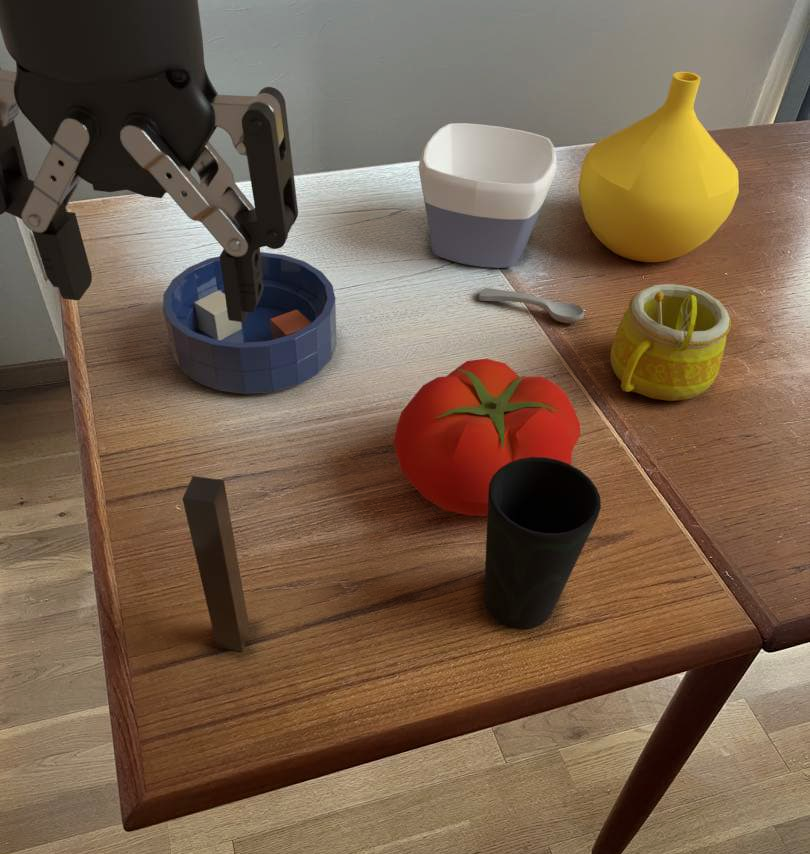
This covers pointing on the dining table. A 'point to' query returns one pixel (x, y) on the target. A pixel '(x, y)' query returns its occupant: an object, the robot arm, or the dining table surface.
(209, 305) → the block
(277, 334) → the block
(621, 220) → the vase
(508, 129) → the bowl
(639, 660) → the dining table surface
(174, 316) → the bowl
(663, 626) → the dining table surface
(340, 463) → the dining table surface
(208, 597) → the stick
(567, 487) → the cup
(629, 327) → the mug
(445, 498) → the tomato
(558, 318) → the spoon
